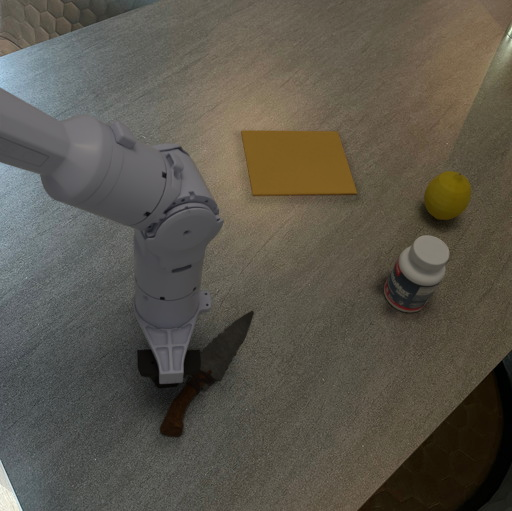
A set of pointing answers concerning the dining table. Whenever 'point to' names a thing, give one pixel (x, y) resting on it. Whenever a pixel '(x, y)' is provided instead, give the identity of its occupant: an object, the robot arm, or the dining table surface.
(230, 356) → the knife
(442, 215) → the fruit
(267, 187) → the cloth
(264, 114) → the dining table surface
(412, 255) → the pill bottle
